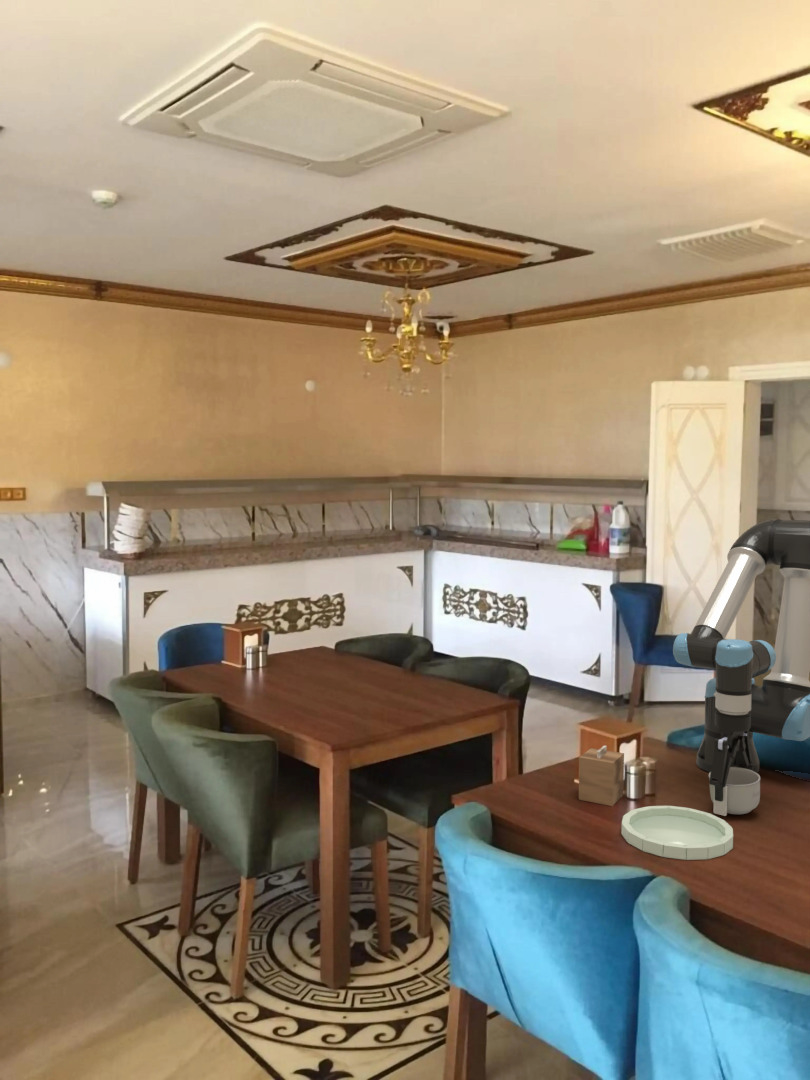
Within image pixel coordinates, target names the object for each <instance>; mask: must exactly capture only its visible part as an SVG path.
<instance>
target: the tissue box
mask: <svg viewBox="0 0 810 1080" xmlns="http://www.w3.org/2000/svg"><path fill="white" fill-rule="evenodd" d="M607 749H608V748H607V745H602V747H600V748H595V747H594V748H593V747H590V748H589V749H588V750H587V751H585V752H584V753H582V754H581V755H580V756H579V757H578V800H580V801H584V802H590V803H594V804H600V805H604V806H611V807H614V805H615V804H616V803H617V802H619V800H620V799H621V798H622V797H623V796H624V784H625V783H624V777H625V776H624V775H625V774H624V773H625V753H624V752H617V751H613V750H607Z"/></svg>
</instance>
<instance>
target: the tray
mask: <svg viewBox="0 0 810 1080" xmlns="http://www.w3.org/2000/svg"><path fill="white" fill-rule="evenodd" d="M620 832H621V835H622V837H623V838H624V840H625V841H626V842H627V843H628V844H629V845H631V846H633V847H635V848H636V849H638V850H640V851H642V852H644V853H648V854H650V855H655V856H659V857H662V858H666V859H667V858H669V859H675V860H682V861H690V860H691V861H694V860H695V861H697V860H711V859H713V858H717V857H721V856H724V855H727V854H728V853H729V852H730V851H731V850H732V849H734V829H733V827H732V826H731V825H730V824H729V823H728V822H727V821H726V820H725V819H722V818H720V817H718V816H716V815H714V814H712V813H711V812H710V813H709V812H706V811H702V810H699V809H695V808H690V807H684V806H674V805H650V806H643V807H639V808H634V809H631V810H630V811H629V812H626V813H625V814H624V815H622V820H621V831H620Z"/></svg>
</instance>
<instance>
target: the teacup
mask: <svg viewBox="0 0 810 1080" xmlns="http://www.w3.org/2000/svg"><path fill="white" fill-rule="evenodd" d="M710 775H711V772H708V782H709V781H710ZM708 785H709V795H710V799H711V801H712V803H713V804H714V785H710V784H709V783H708ZM725 786H727V814H730V815H744V814H745V815H746V814H749V813H750V812H752V810H754V809H756V808H757V807H758V806H759V804H760V801H761V799H760V798H761V776H760V774H759V772H757V773H756V772H754V771H752V770H749V769H745V768H737V767H730V769H729V773H728V777H727V781H726V785H725Z"/></svg>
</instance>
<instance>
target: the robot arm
mask: <svg viewBox="0 0 810 1080" xmlns="http://www.w3.org/2000/svg"><path fill="white" fill-rule="evenodd" d="M726 557H727V564H726V566H725V567H724V569H723V571H722V574H721V575H720V577H719V579H718V581H717V583H716V585H715V587H714V589H713V591H712V592H711V595H710V596H709V598H708V601H707V602H706V605H705V606H704V607H703V610H702V611H701V613H700V615H699V617H698V619H697V621H696V623H695V625H694V627H693V629H692V631H691V632H690V633H688V632H687V633H685V632H684V633H683V632H682V633H680V634H678V635H676V637H675V639H674V641H673V647H672V654H673V657H674V660H675V661H676V663H678V664H681V665H684V666H687V667H688V666H689V667H691V668H700V669H701V668H702V669H709V670H715V677H713V678H711V679H709V680H708V681H707V682H706V686H705V693H704V694H705V695H704V733H703V734H704V735H703V737H702V740H701V743H700V746H699V747H698V748H699V749H698V751H697V753H696V766H697V767H698V768H699V769H700V770H703V771H705V772H708V773H710V772H711V775H710V781H709V780H708V785H709V784H710V785H714V803H713V808H712V809H713V814H715V815H719V816H720V815H721V816H723V817H726V816H727V815H728V813H727V786H725V785H726V781H727V777H728V773H729V769H730V767H737V768H745V769H749V770H752V771H754V772H756V773H759V771H760V758H759V756H758V753H757V748H756V746H755V743H754V739H753V737H754V736H753V735H754V733H755V734H759V735H765V736H769V737H774V738H779V739H783V740H786V741H787V740H791V741H796V742H797V741H798V742H802V741H806V740H807V739H808V738H810V680H809V679H810V677H809V676H810V520H807V519H806V520H803V519H801V520H800V519H799V520H798V519H796V520H795V519H778V518H774V519H773V518H772V519H767V520H763V521H760V522H758V523H756V524H754V525H753V526H751V527H749V528H748V529H747V530H746V531H744V532H743V533H742V534H741V535H740V536H739V537H738V538H737V539H736V540H735V541H734V543H733V544H732V545H731V547H730V548H729V551H728V553H727V556H726ZM771 565H772V566H773V565H775V566H779V572H780V574H781V575H782V576H783V578H784V580H783V581H784V582H783V588H782V594H781V595H782V596H781V600H780V601H781V603H780V609H779V614H778V615H779V617H778V623H777V629H776V636H775V643H774V647H773V646H772V645H771V644H770V643H769V642H767V641H765V640H762V639H757V640H756V639H755V640H750V641H747V640H744V639H737V638H736V639H731V638H729V639H727V636H728V633H729V632H730V629H731V627H732V625H733V624H734V622H735V619H736V618H737V615H738V613H739V611H740V609H741V608H742V605H743V604H744V602H745V600H746V598H747V595H748V593H749V592H750V589H751V588H752V585H753V584H754V581H755V580H756V577H757V576H758V575H760V574H763V572H764V571H765V569H766V567H768V566H771ZM768 671H770V672H769V674H768V675H766V676H765V677H763V680H762V685H758V684H757V685H756V680H755V678H756V677H758V676H760V675H764V674H766V673H767V672H768ZM710 785H709V786H710Z"/></svg>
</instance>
